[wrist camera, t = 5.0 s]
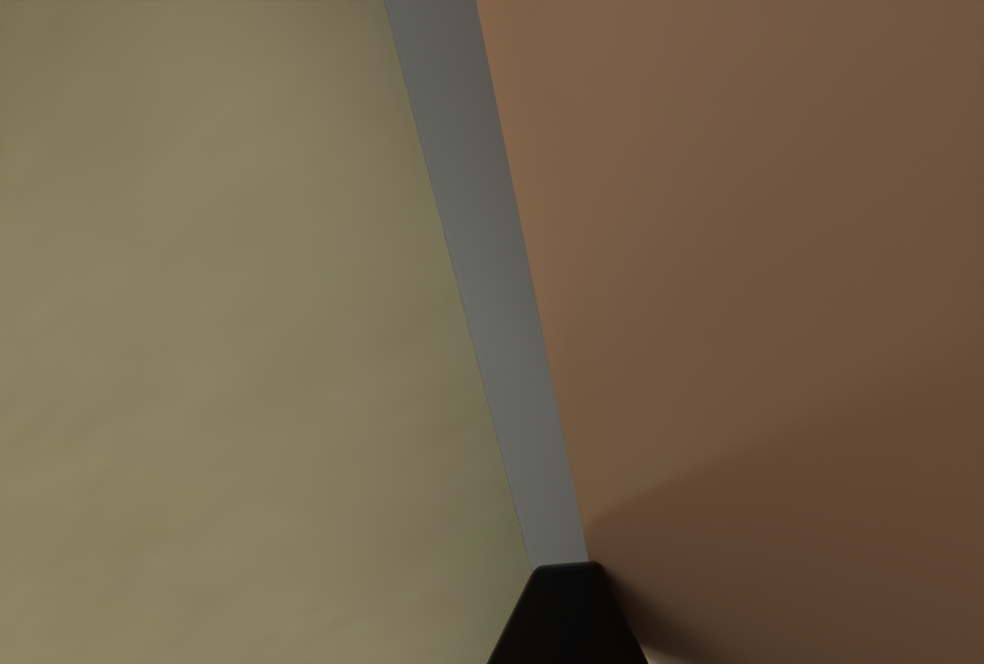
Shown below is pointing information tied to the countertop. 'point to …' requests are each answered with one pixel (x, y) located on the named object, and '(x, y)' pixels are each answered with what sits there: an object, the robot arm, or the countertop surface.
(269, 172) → the countertop surface
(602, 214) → the tile
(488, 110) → the mat
